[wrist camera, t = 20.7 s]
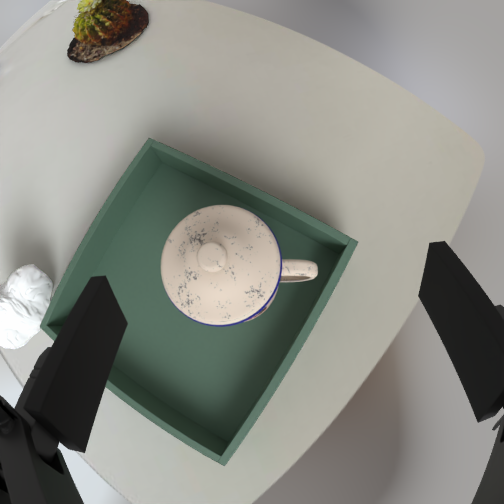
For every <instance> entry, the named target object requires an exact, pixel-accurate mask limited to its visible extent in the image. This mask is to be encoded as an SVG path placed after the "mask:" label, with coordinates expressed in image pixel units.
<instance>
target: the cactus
mask: <svg viewBox="0 0 504 504" xmlns="http://www.w3.org/2000/svg"><path fill="white" fill-rule="evenodd" d="M80 2H81V3H79V4H78V8H77V9H79V10H80V11H79V13H81V14H79V16H78V17H76V18H77V19H75V20H76V21H75V23H74V26H75V27H74V28H73V30H72V31H73V32H74V33H75V35H74V37H75V38H73V40H72V41H71V43H70V45H69V48H68V50H67V51H68V53H67V54H68V55H67V56H68V57H69V58H70V60H72V61H75V62H83V63H88V62H93V61H97V60H99V59H100V58H101V57H103V56H104V55H107V54H111V53H113V52H115V51H117V50H119V49H121V48H123V47H125V46H126V45H128V44H129V43H130V42H132V41H133V40H134V39H135V38H136V37H137V36H139V35H140V34H141V32H142V31H143V29H144V28H145V27H146V28H147V25H146V24H148V13H147V11H146V10H145V9H144V8H143V7H142V6H141V5H140V4H139V5H136V4H129V2H128V1H126V0H82V1H80Z"/></svg>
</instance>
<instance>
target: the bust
mask: <svg viewBox="0 0 504 504" xmlns="http://www.w3.org/2000/svg"><path fill="white" fill-rule="evenodd" d="M52 289H53V282H52V280H51V279H50V278H49V277H48V276H47V275H46V274H45V273H44V272H43V271H42V270H40V269H38V268H37V267H36V266H35V265H34V264H30V265H25V266H22V267H20V268H19V269H17V270H15V271H14V272H13V273H11V274H10V276H9V277H8V279H7V280H6V281H5V282H4V283H2V284H1V285H0V346H2V347H3V348H11V349H17V348H20V347H22V346H24V345H25V344H26V343H27V342H28V341H29V340H30V338H31V337H32V336H33V335H35V334H37V333H38V332H39V331H40V328H41V327H40V324H41V322H42V320H43V318H44V315H45V313H46V311H47V309H48V307H49V304H50V297H51V294H52Z"/></svg>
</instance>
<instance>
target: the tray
mask: <svg viewBox="0 0 504 504" xmlns="http://www.w3.org/2000/svg"><path fill="white" fill-rule="evenodd" d="M214 205H231V206H236V207H240V208H243V209H246V210H248V211H250V212H252V213H254V214H255V215H257V216H258V217H260V218H261V219H262V220H263V221H264V222H265V223H266V224H267V225H268V226H269V227H270V229H271V230H272V232H273V233H274V235H275V237H276V239H277V241H278V243H279V246H280V250H281V255H282V260H285V259H294V260H308V261H312V262H314V263H316V265H317V267H318V274H317V276H316V277H315V278H314V279H311V280H307V281H301V282H279V285H278V290H277V293H276V296H275V298H274V300H273V302H272V303H271V305H270V306H269V307H268V308H267V309H266V310H265V311H264V312H263V313H262V314H261V315H259V316H258V317H256V318H254V319H252V320H249V321H246V322H242V323H239V324H236V325H232V326H225V327H216V326H208V325H204V324H201V323H198V322H196V321H193V320H192V319H190V318H188V317H187V316H185V315H184V314H183V313H181V312H180V311H179V310H178V309H177V308H176V307H175V306H174V304H173V303H172V302H171V300H170V299H169V297H168V295H167V293H166V291H165V288H164V285H163V282H162V276H161V257H162V252H163V249H164V245H165V243H166V241H167V239H168V237H169V235H170V234H171V232H172V230H173V229H174V228H175V227H176V226H177V225H178V223H179V222H180V221H182V220H183V219H184V218H185V217H187V216H188V215H190V214H191V213H193V212H195V211H197V210H199V209H202V208H205V207H209V206H214ZM357 244H358V241H356V240H354V239H352V238H350V237H349V236H347V235H345V234H343V233H341V232H340V231H338V230H336V229H334V228H332V227H330V226H329V225H327V224H325V223H323V222H321V221H319V220H317V219H316V218H314V217H312V216H310V215H308V214H306V213H304V212H302V211H300V210H299V209H297V208H295V207H293V206H291V205H289V204H287V203H285V202H283V201H281V200H279V199H277V198H275V197H273V196H271V195H269V194H267V193H265V192H263V191H261V190H259V189H257V188H255V187H253V186H251V185H249V184H247V183H245V182H243V181H241V180H239V179H237V178H235V177H233V176H231V175H229V174H227V173H225V172H223V171H221V170H218V169H216V168H214V167H212V166H210V165H208V164H206V163H204V162H202V161H199V160H197V159H195V158H193V157H191V156H189V155H186V154H184V153H182V152H180V151H178V150H175V149H173V148H171V147H169V146H167V145H164V144H162V143H160V142H158V141H155V140H153V139H151V138H149V139H148V140H147V141H146V143H145V144H144V146H143V147H142V148H141V150H140V151H139V152H138V154H137V155H136V157H135V158H134V160H133V161H132V162H131V164H130V165H129V167H128V168H127V170H126V171H125V173H124V174H123V176H122V177H121V179H120V180H119V182H118V183H117V185H116V186H115V188H114V189H113V191H112V192H111V194H110V195H109V197H108V199H107V200H106V202H105V203H104V205H103V207H102V208H101V210H100V211H99V213H98V215H97V216H96V218H95V220H94V221H93V223H92V225H91V226H90V228H89V230H88V232H87V233H86V235H85V237H84V239H83V240H82V242H81V244H80V246H79V247H78V249H77V251H76V253H75V255H74V257H73V258H72V260H71V262H70V264H69V266H68V268H67V270H66V272H65V274H64V276H63V278H62V280H61V282H60V284H59V286H58V288H57V290H56V292H55V294H54V296H53V298H52V300H51V302H50V304H49V307H48V309H47V311H46V313H45V315H44V318H43V320H42V322H41V324H40V327H41V328H42V330H43V331H44V332H45V333H46V334H47V335H48V336H49V337H50V338H52V339H53V340H54V341H55V339H56V337H57V336H58V334H59V332H60V330H61V328H62V326H63V324H64V323H65V321H66V319H67V317H68V315H69V314H70V312H71V310H72V308H73V306H74V305H75V303H76V301H77V300H78V298H79V296H80V294H81V293H82V291H83V289H84V288H85V286H86V284H87V283H88V281H89V279H90V278H91V277H94V276H105V275H106V277H107V279H108V281H109V284H110V286H111V288H112V290H113V293H114V295H115V297H116V299H117V301H118V303H119V306H120V308H121V310H122V312H123V314H124V316H125V318H126V320H127V322H128V325H127V327H126V330H125V333H124V335H123V338H122V341H121V343H120V346H119V349H118V352H117V354H116V357H115V360H114V363H113V365H112V368H111V371H110V374H109V377H108V380H107V383H106V386H105V387H106V388H108V389H109V390H110V391H111V392H113V393H114V394H115V395H117V396H118V397H119V398H120V399H122V400H123V401H124V402H126V403H127V404H128V405H130V406H131V407H132V408H134V409H135V410H136V411H138V412H139V413H141V414H142V415H143V416H145V417H146V418H148V419H149V420H150V421H152V422H153V423H155V424H156V425H158V426H159V427H161V428H162V429H164V430H165V431H167V432H168V433H170V434H171V435H173V436H174V437H176V438H177V439H179V440H181V441H182V442H184V443H185V444H187V445H189V446H190V447H192V448H193V449H195V450H197V451H198V452H200V453H202V454H204V455H205V456H207V457H209V458H211V459H212V460H214V461H216V462H218V463H220V464H221V465H223V466H225V465H226V464H227V462H228V461H229V460H230V458H231V457H232V455H233V454H234V453H235V451H236V450H237V448H238V447H239V445H240V444H241V442H242V441H243V440H244V438H245V437H246V435H247V434H248V432H249V431H250V429H251V428H252V426H253V425H254V423H255V422H256V420H257V419H258V417H259V416H260V414H261V413H262V411H263V410H264V408H265V407H266V405H267V403H268V402H269V400H270V399H271V397H272V396H273V394H274V393H275V391H276V389H277V388H278V386H279V385H280V383H281V381H282V380H283V378H284V376H285V375H286V373H287V372H288V370H289V368H290V367H291V365H292V363H293V362H294V360H295V358H296V357H297V355H298V353H299V352H300V350H301V348H302V346H303V345H304V343H305V341H306V340H307V338H308V336H309V334H310V333H311V331H312V329H313V327H314V325H315V324H316V322H317V320H318V318H319V317H320V315H321V313H322V311H323V309H324V307H325V306H326V304H327V302H328V300H329V298H330V296H331V295H332V293H333V291H334V289H335V287H336V285H337V283H338V281H339V279H340V277H341V276H342V274H343V272H344V270H345V268H346V266H347V264H348V262H349V260H350V258H351V256H352V254H353V252H354V250H355V248H356V246H357Z"/></svg>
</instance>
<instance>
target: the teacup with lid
mask: <svg viewBox="0 0 504 504" xmlns="http://www.w3.org/2000/svg"><path fill="white" fill-rule="evenodd" d="M317 274H318V267H317V265H316V263H314V262H312V261H308V260H294V259H285V260H282V255H281V250H280V246H279V243H278V241H277V239H276V237H275V235H274V233H273V232H272V230H271V229H270V227H269V226H268V225H267V224H266V223H265V222H264V221H263V220H262V219H261V218H260V217H258V216H257V215H255V214H254V213H252V212H250V211H248V210H246V209H243V208H240V207H236V206H231V205H214V206H209V207H205V208H202V209H199V210H197V211H195V212H193V213H191V214H190V215H188V216H187V217H185V218H184V219H183V220H182V221H180V222H179V223H178V225H177V226H176V227H175V228H174V229H173V230H172V232H171V234H170V235H169V237H168V239H167V241H166V243H165V245H164V249H163V252H162V257H161V276H162V282H163V285H164V288H165V291H166V293H167V295H168V297H169V299H170V300H171V302H172V303H173V304H174V306H175V307H176V308H177V309H178V310H179V311H180V312H181V313H183V314H184V315H185V316H187V317H188V318H190V319H192V320H193V321H196V322H198V323H201V324H204V325H208V326H216V327H225V326H232V325H236V324H239V323H242V322H246V321H249V320H252V319H254V318H256V317H258V316H259V315H261V314H262V313H263V312H264V311H265V310H266V309H267V308H268V307H269V306H270V305H271V303H272V302H273V300H274V298H275V296H276V293H277V290H278V285H279V282H301V281H307V280H311V279H314V278H315V277H316V276H317Z"/></svg>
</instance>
